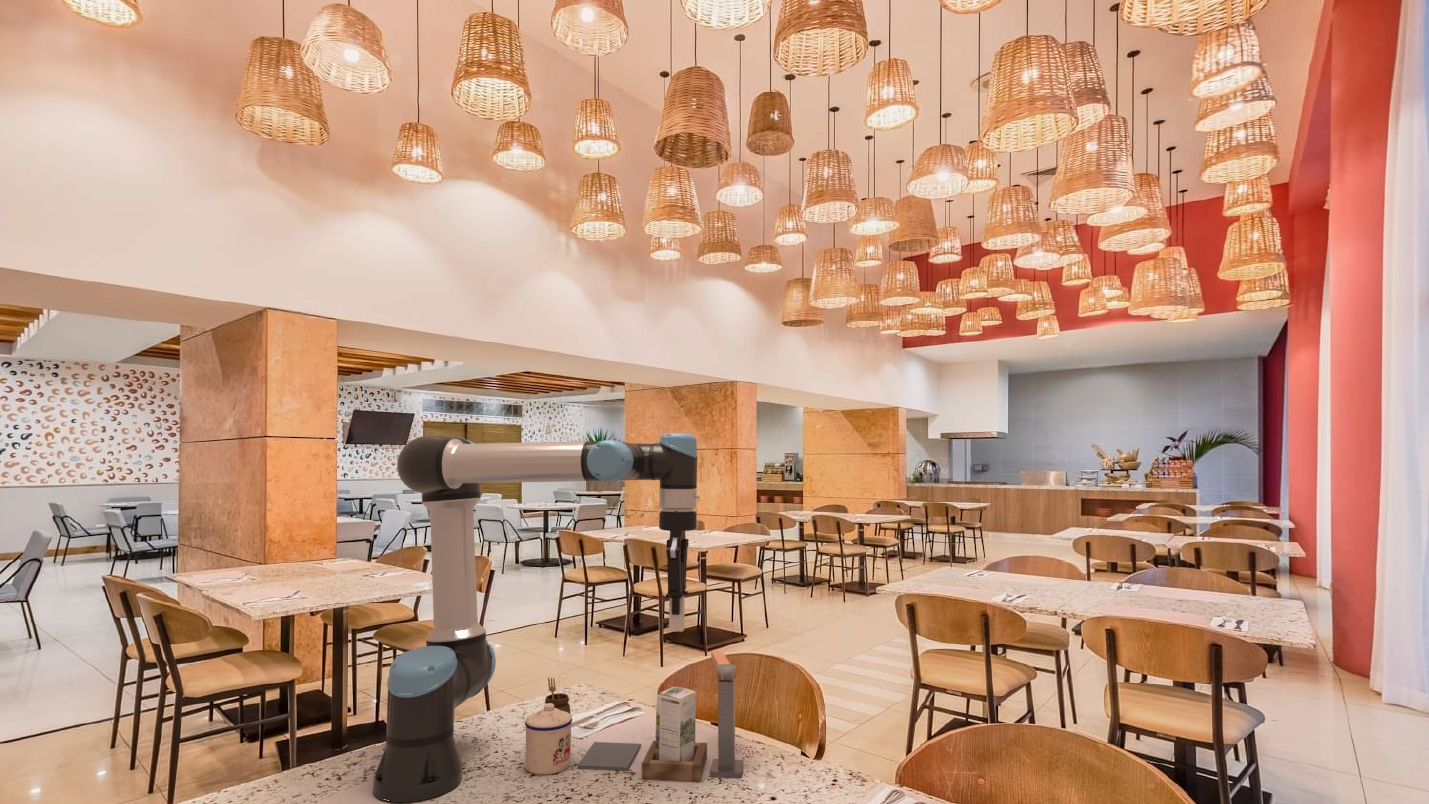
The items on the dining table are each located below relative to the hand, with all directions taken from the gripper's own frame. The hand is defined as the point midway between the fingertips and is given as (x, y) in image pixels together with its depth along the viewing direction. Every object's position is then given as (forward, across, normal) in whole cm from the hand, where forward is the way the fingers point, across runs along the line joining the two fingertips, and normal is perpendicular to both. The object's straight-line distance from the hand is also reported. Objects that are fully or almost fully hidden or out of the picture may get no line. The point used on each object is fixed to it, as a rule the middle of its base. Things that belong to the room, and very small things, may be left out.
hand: (676, 629), depth 141 cm
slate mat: (+26, +4, +14) cm, 30 cm away
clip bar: (+9, +5, -9) cm, 13 cm away
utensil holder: (+27, +18, +30) cm, 44 cm away
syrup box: (+26, -1, 0) cm, 26 cm away
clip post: (+26, -1, -10) cm, 28 cm away
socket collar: (+26, -1, 0) cm, 26 cm away
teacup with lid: (+27, 0, +25) cm, 36 cm away
